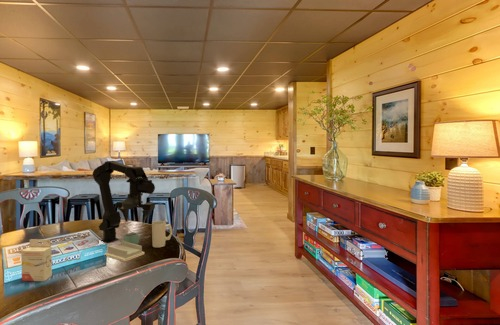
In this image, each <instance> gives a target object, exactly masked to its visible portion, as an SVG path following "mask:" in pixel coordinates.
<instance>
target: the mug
mask: <svg viewBox="0 0 500 325" xmlns="http://www.w3.org/2000/svg"><path fill="white" fill-rule="evenodd" d="M167 229H169V235H167V236H166V230H167ZM172 235H173V227H172V226H171V223H168V224H167V223H166V221H164V220H156V221H152V222H151V237H152V238H151V239H152V240H151V241H152V244H151V245H152V247H153V248H157V249H158V248H162V247H165V246H166V241H169V240H171V237H172Z"/></svg>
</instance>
